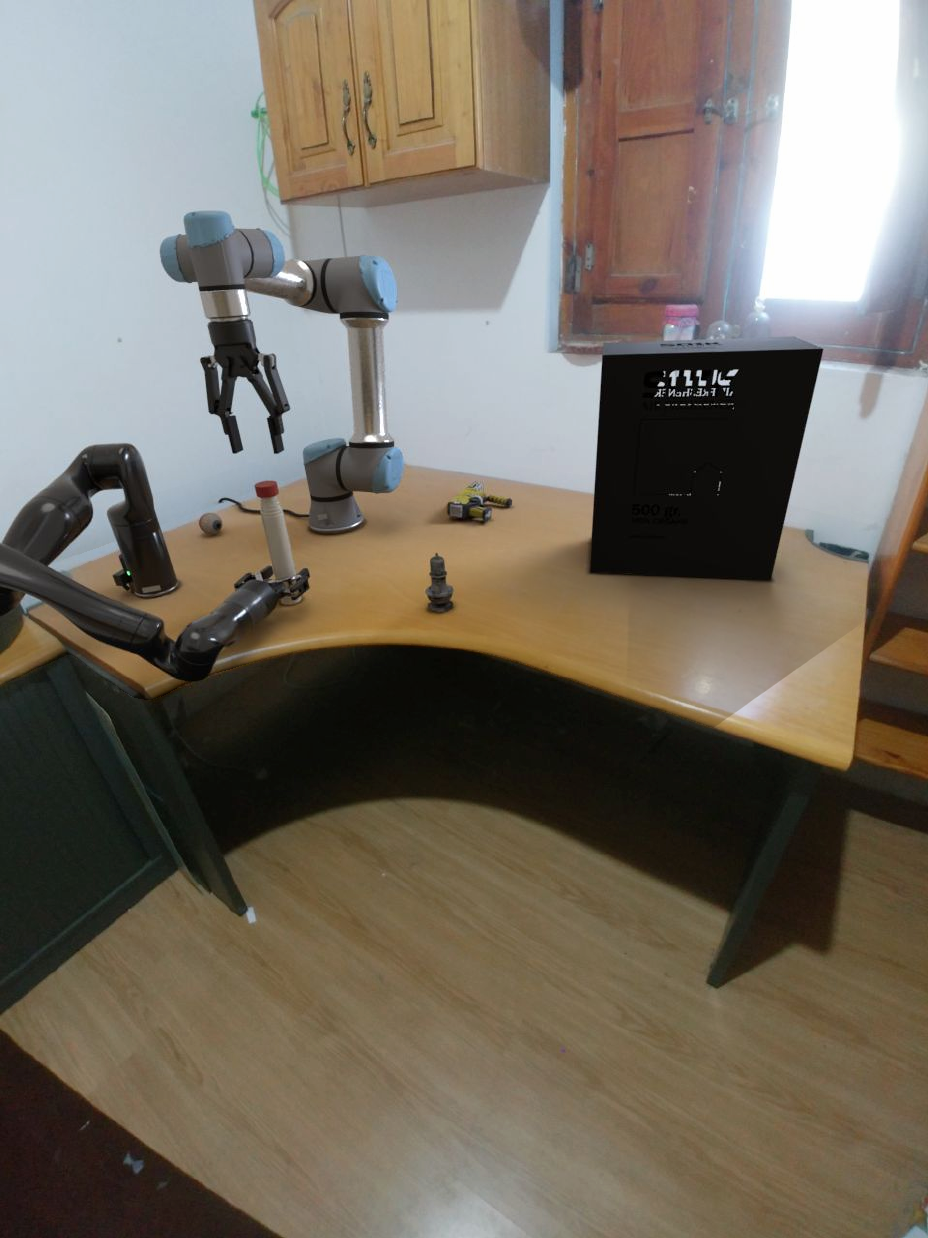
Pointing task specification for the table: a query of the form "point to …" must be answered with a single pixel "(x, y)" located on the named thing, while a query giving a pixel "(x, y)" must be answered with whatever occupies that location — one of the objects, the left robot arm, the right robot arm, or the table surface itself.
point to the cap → (266, 489)
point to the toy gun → (474, 503)
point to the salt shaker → (439, 586)
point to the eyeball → (210, 523)
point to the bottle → (278, 542)
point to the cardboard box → (698, 455)
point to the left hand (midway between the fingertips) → (289, 570)
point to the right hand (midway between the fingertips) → (258, 451)
